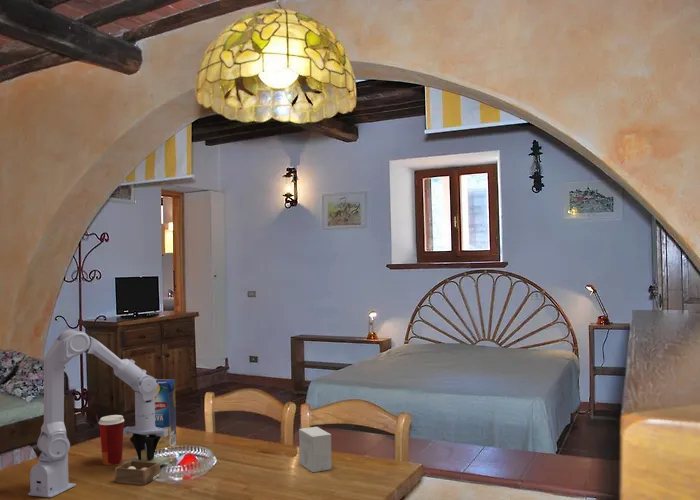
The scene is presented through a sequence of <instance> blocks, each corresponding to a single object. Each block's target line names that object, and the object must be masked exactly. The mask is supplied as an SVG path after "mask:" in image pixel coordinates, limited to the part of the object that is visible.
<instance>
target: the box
mask: <svg viewBox="0 0 700 500" xmlns="http://www.w3.org/2000/svg"><path fill="white" fill-rule="evenodd" d="M131 466H133V467H135V468H136V469H128V468H129V467H131ZM142 468H147V469H145V470H140V469H142ZM159 473H160V474H161V465H160V463H155V462H143V461H129V462H127V463H125V464H123V463H122V464H120V465H118V466H116V467H115V468H114V480H115V483H118V484H119V483H120V484H127V485H128V484H129V485H140V486H146V485H149V484H150V483H152V482H153V477H154V476H156V475H157V474H159Z"/></svg>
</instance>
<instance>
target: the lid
mask: <svg viewBox="0 0 700 500" xmlns="http://www.w3.org/2000/svg"><path fill="white" fill-rule="evenodd" d="M129 461H143V462H155V463H160V466H162V465H163V464H165V463H167V462H169V461H170V457H168V456H155V457H154V459H152V460H150V461H149V460H148V459H147V449H143V450H141V460H139V459H138V455H136V456H134V457H132V458H129V459H128V460H126V461H124V462H123V463H122V464H125V463H127V462H129Z"/></svg>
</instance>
